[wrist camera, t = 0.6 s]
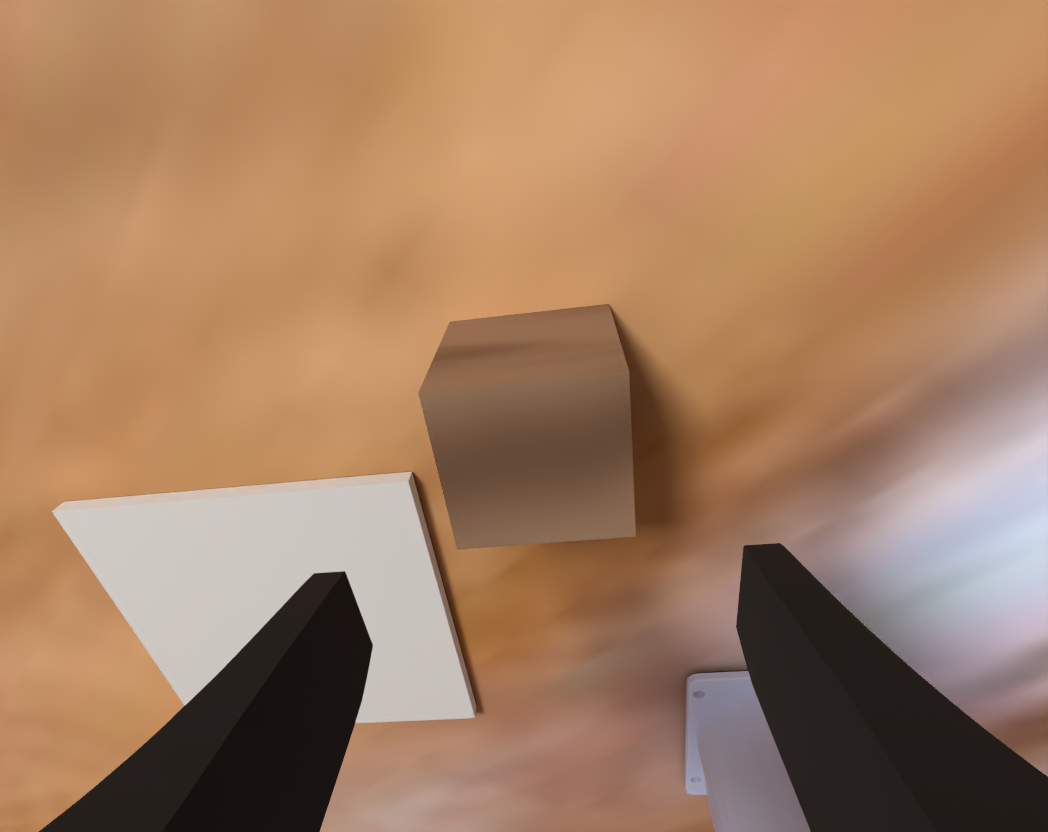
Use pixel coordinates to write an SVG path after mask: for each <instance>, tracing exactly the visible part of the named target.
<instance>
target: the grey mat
mask: <svg viewBox="0 0 1048 832" xmlns="http://www.w3.org/2000/svg"><path fill="white" fill-rule="evenodd" d="M52 512H53V514H54V515H55V517H56V518H57V520H58V521H59V523H60V524H61V526H62V527H63V528H64V530H65V531H66V533H67V534H68V536H69V537H70V539H71V540H72V542H73V543H74V545H75V546H76V547H77V549H78V550H79V552H80V553H81V555H82V556H83V558H84V559H85V561H86V562H87V563H88V565H89V566H90V568H91V569H92V571H93V572H94V574H95V575H96V577H97V578H98V580H99V581H100V582H101V584H102V585H103V587H104V588H105V590H106V591H107V593H108V594H109V596H110V597H111V598H112V600H113V601H114V603H115V604H116V606H117V607H118V609H119V610H120V612H121V613H122V615H123V616H124V617H125V619H126V620H127V622H128V623H129V625H130V626H131V628H132V629H133V631H134V632H135V634H136V635H137V636H138V638H139V639H140V641H141V642H142V644H143V645H144V647H145V648H146V650H147V651H148V652H149V654H150V655H151V657H152V658H153V660H154V661H155V663H156V664H157V666H158V667H159V669H160V670H161V671H162V673H163V674H164V676H165V677H166V679H167V680H168V682H169V683H170V685H171V686H172V687H173V689H174V690H175V692H176V693H177V695H178V696H179V698H180V699H181V701H182V702H183V704H184V705H186V704H187V703H188V702H189V701H190V700H191V699H192V698H193V697H194V696H195V695H197V694H198V693H199V692H200V691H201V690H202V689H203V688H204V687H205V686H206V685H207V684H208V683H209V682H210V681H211V680H212V679H213V678H214V677H215V676H216V675H217V674H218V673H219V672H220V671H221V670H222V669H223V668H224V667H225V666H226V665H227V664H228V663H229V662H230V661H231V660H232V659H233V658H234V657H235V656H236V655H237V653H238V652H239V651H240V650H241V649H242V648H243V647H244V646H245V645H246V644H247V643H248V642H249V641H250V640H251V639H252V638H253V637H254V636H255V635H256V634H257V633H258V632H259V631H260V629H261V628H262V627H263V626H264V625H265V624H266V623H267V622H268V621H269V620H270V619H271V618H272V617H273V616H274V615H275V613H276V612H277V611H278V610H279V609H280V608H281V607H282V606H283V605H284V604H285V603H286V602H287V601H288V600H289V599H290V597H291V596H292V595H293V594H294V593H295V592H296V591H297V590H298V589H299V588H300V587H301V586H302V585H303V584H304V583H305V582H306V581H307V580H308V579H309V578H310V577H311V576H312V575H313V574H314V573H326V572H342V571H345V572H346V575H347V578H348V580H349V583H350V586H351V588H352V591H353V594H354V596H355V599H356V602H357V604H358V607H359V610H360V612H361V615H362V617H363V620H364V623H365V625H366V628H367V631H368V633H369V636H370V639H371V641H372V644H373V648H372V653H371V659H370V664H369V670H368V675H367V680H366V684H365V689H364V694H363V698H362V702H361V706H360V709H359V712H358V715H357V718H356V722H355V723H369V722H393V721H416V720H439V719H462V718H475V714H476V703H475V699H474V696H473V692H472V688H471V685H470V681H469V677H468V674H467V670H466V666H465V663H464V659H463V656H462V652H461V648H460V645H459V641H458V637H457V634H456V630H455V627H454V623H453V619H452V616H451V612H450V608H449V605H448V601H447V597H446V594H445V590H444V587H443V583H442V579H441V576H440V572H439V568H438V565H437V561H436V557H435V554H434V550H433V547H432V543H431V539H430V536H429V532H428V528H427V525H426V521H425V517H424V514H423V510H422V507H421V503H420V499H419V496H418V492H417V488H416V485H415V481H414V478H413V474H412V472H403V473H391V474H380V475H368V476H357V477H345V478H334V479H322V480H311V481H299V482H288V483H276V484H265V485H253V486H242V487H230V488H219V489H207V490H195V491H184V492H172V493H161V494H149V495H138V496H126V497H115V498H103V499H92V500H80V501H69V502H63V503H62V504H61V505H60V506H58V507H57V508H56V509H55V510H54V511H52Z"/></svg>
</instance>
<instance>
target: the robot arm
mask: <svg viewBox="0 0 1048 832" xmlns="http://www.w3.org/2000/svg"><path fill="white" fill-rule="evenodd" d="M736 627H737V631H738V635H739V639H740V642H741V646H742V650H743V654H744V657H745V661H746V664H747V668H748V671H735V672H714V673H697V674H693V675H690V676H689V677H688V678H687V681H686V725H685V775H684V784H685V789H686V792H687V793H689V794H691V795H707V800H708V804H709V809H710V813H711V817H712V822H713V826H714V830H715V832H1048V777H1047V776H1046V775H1045V774H1043V773H1042V772H1040V771H1039V770H1038V769H1036V768H1035V767H1034V766H1032V765H1031V764H1030V763H1028V762H1027V761H1026V760H1024V759H1023V758H1022V757H1020V756H1019V755H1018V754H1016V753H1015V752H1014V751H1013V750H1011V749H1010V748H1009V747H1007V746H1006V745H1005V744H1003V743H1002V742H1001V741H999V740H998V739H997V738H995V737H994V736H993V735H992V734H990V733H989V732H988V731H987V730H985V729H984V728H983V727H982V726H980V725H979V724H978V723H976V722H975V721H974V720H973V719H971V718H970V717H969V716H968V715H967V714H965V713H964V712H963V711H962V710H960V709H959V708H958V707H957V706H956V705H954V704H953V703H952V702H951V701H949V700H948V699H947V698H946V697H945V696H944V695H942V694H941V693H940V692H939V691H938V690H936V689H935V688H934V687H933V686H932V685H931V684H929V683H928V682H927V681H926V680H925V679H923V678H922V677H921V676H920V675H919V674H918V673H916V672H915V671H914V670H913V669H912V668H911V667H910V666H908V665H907V664H906V663H905V662H904V661H903V660H902V659H901V658H899V657H898V656H897V655H896V654H895V653H894V652H893V651H892V650H891V649H889V648H888V647H887V646H886V645H885V644H884V643H883V642H882V641H881V640H880V639H879V638H878V637H876V636H875V635H874V634H873V633H872V632H871V631H870V630H869V629H868V628H867V627H866V626H864V625H863V624H862V623H861V622H860V621H859V620H858V619H857V618H856V617H855V616H854V615H853V614H852V613H851V612H850V611H849V610H847V609H846V608H845V607H844V606H843V605H842V604H841V603H840V602H839V601H838V600H837V599H836V598H835V597H834V596H833V595H832V594H831V593H830V592H829V591H828V590H827V589H826V588H825V587H824V586H823V585H822V584H821V583H820V582H819V581H818V580H817V579H816V578H815V577H814V576H813V575H812V574H811V573H810V572H809V571H808V570H807V569H806V568H805V567H804V566H803V565H802V564H801V563H800V562H799V561H798V560H797V559H796V558H795V557H794V556H793V555H792V554H791V553H790V552H789V551H788V550H787V549H786V548H785V547H784V546H783V545H781V544H780V543H777V544H762V545H746V546H744V548H743V559H742V570H741V581H740V592H739V603H738V614H737V625H736ZM372 648H373V644H372V641H371V639H370V636H369V633H368V631H367V628H366V625H365V623H364V620H363V617H362V615H361V612H360V610H359V607H358V604H357V602H356V599H355V596H354V594H353V591H352V588H351V586H350V583H349V580H348V578H347V575H346V572H345V571H342V572H326V573H314V574H313V575H312V576H311V577H310V578H309V579H308V580H307V581H306V582H305V583H304V584H303V585H302V586H301V587H300V588H299V589H298V590H297V591H296V592H295V593H294V594H293V595H292V596H291V597H290V599H289V600H288V601H287V602H286V603H285V604H284V605H283V606H282V607H281V608H280V609H279V610H278V611H277V612H276V613H275V615H274V616H273V617H272V618H271V619H270V620H269V621H268V622H267V623H266V624H265V625H264V626H263V627H262V628H261V629H260V631H259V632H258V633H257V634H256V635H255V636H254V637H253V638H252V639H251V640H250V641H249V642H248V643H247V644H246V645H245V646H244V647H243V648H242V649H241V650H240V651H239V652H238V653H237V655H236V656H235V657H234V658H233V659H232V660H231V661H230V662H229V663H228V664H227V665H226V666H225V667H224V668H223V669H222V670H221V671H220V672H219V673H218V674H217V675H216V676H215V677H214V678H213V679H212V680H211V681H210V682H209V683H208V684H207V685H206V686H205V687H204V688H203V689H202V690H201V691H200V692H199V693H198V694H197V695H195V696H194V697H193V698H192V699H191V700H190V701H189V702H188V703H187V704H186V705H185V706H184V707H183V708H182V709H181V710H180V711H179V712H178V713H177V714H176V715H175V716H174V717H173V718H172V719H171V720H170V721H169V722H168V723H167V724H166V725H165V726H164V727H162V728H161V729H160V730H159V731H158V732H157V733H156V734H155V735H154V736H153V737H152V738H150V739H149V740H148V741H147V742H146V743H145V744H144V745H143V746H142V747H140V748H139V749H138V750H137V751H136V752H135V753H134V754H133V755H132V756H130V757H129V758H128V759H127V760H126V761H125V762H123V763H122V764H121V765H120V766H119V767H118V768H116V769H115V770H114V771H113V772H112V773H111V774H109V775H108V776H107V777H106V778H105V779H104V780H102V781H101V782H100V783H99V784H98V785H97V786H95V787H94V788H93V789H92V790H91V791H89V792H88V793H87V794H86V795H85V796H83V797H82V798H81V799H80V800H79V801H77V802H76V803H75V804H74V805H72V806H71V807H70V808H68V809H67V810H66V811H65V812H63V813H62V814H61V815H60V816H58V817H57V818H56V819H54V820H53V821H52V822H51V823H49V824H48V825H47V826H46V827H44V828H43V829H42V830H40V831H39V832H319V831H320V828H321V825H322V822H323V819H324V816H325V813H326V810H327V807H328V804H329V801H330V798H331V795H332V792H333V789H334V786H335V783H336V780H337V777H338V774H339V771H340V768H341V765H342V762H343V759H344V756H345V753H346V750H347V746H348V743H349V740H350V737H351V734H352V731H353V728H354V725H355V722H356V718H357V715H358V712H359V709H360V706H361V702H362V698H363V694H364V689H365V684H366V680H367V675H368V670H369V664H370V659H371V653H372Z"/></svg>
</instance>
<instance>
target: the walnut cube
mask: <svg viewBox="0 0 1048 832" xmlns="http://www.w3.org/2000/svg"><path fill="white" fill-rule="evenodd" d="M419 397H420V401H421V405H422V409H423V413H424V417H425V421H426V425H427V429H428V433H429V437H430V441H431V445H432V449H433V453H434V457H435V461H436V465H437V469H438V474H439V478H440V482H441V486H442V490H443V494H444V498H445V502H446V506H447V510H448V514H449V518H450V522H451V526H452V530H453V534H454V538H455V542H456V546H457V549H470V548H484V547H498V546H512V545H526V544H540V543H554V542H568V541H582V540H596V539H610V538H624V537H636V526H635V501H634V476H633V451H632V425H631V400H630V375H629V369H628V366H627V362H626V359H625V356H624V352H623V349H622V346H621V342H620V339H619V336H618V332H617V329H616V326H615V322H614V319H613V316H612V312H611V309H610V306H609V304H605V305H596V306H587V307H578V308H569V309H560V310H551V311H542V312H533V313H524V314H515V315H506V316H497V317H488V318H480V319H471V320H462V321H453V322H450V323H449V325H448V327H447V330H446V332H445V334H444V336H443V339H442V341H441V343H440V345H439V348H438V350H437V352H436V354H435V357H434V359H433V361H432V364H431V366H430V368H429V370H428V373H427V375H426V377H425V379H424V382H423V384H422V386H421V388H420V391H419Z"/></svg>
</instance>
